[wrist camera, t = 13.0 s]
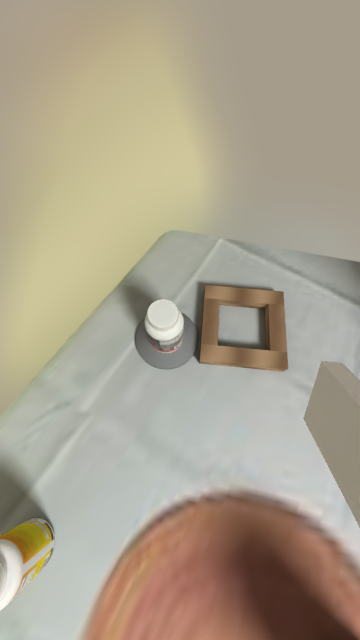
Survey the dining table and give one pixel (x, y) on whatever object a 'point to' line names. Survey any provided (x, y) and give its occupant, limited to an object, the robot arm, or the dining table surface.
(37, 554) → the supplement bottle
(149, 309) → the pill bottle
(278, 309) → the pocket
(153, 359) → the coaster
